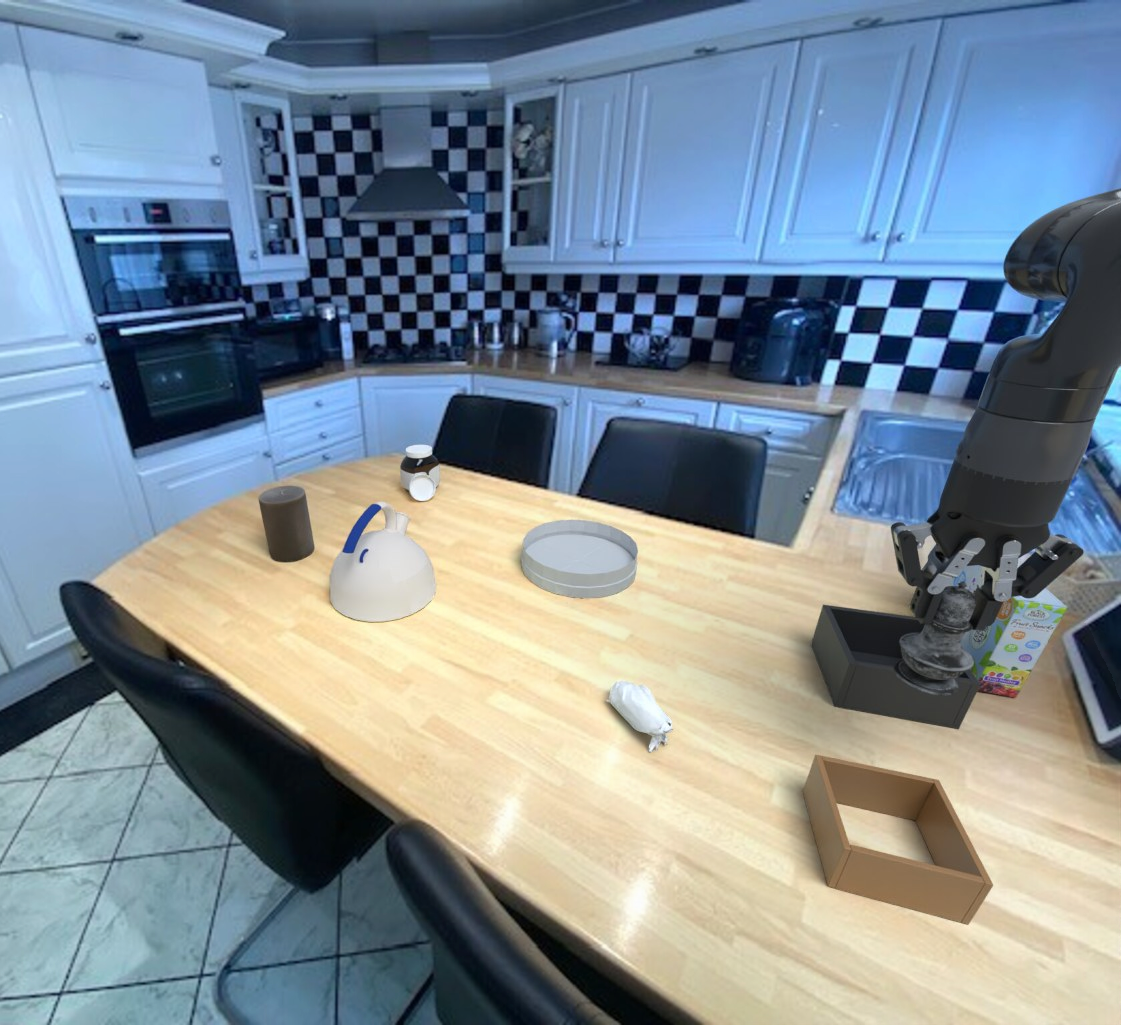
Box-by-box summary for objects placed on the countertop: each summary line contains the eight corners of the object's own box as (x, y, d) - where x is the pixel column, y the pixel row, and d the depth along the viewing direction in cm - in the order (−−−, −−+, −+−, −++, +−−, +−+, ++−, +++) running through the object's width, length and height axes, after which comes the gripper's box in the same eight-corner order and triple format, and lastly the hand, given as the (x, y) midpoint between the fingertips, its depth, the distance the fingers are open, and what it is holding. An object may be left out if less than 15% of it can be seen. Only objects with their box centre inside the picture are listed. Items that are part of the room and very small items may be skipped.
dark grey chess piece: (912, 652, 62) (948, 560, 57) (975, 686, 57) (1020, 588, 52) (876, 668, 61) (910, 574, 55) (938, 705, 56) (981, 605, 50)
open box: (916, 660, 83) (933, 619, 79) (959, 729, 71) (980, 684, 68) (810, 644, 87) (822, 604, 84) (834, 706, 76) (849, 663, 72)
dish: (498, 567, 112) (498, 545, 110) (565, 530, 125) (566, 509, 123) (592, 613, 97) (594, 589, 94) (658, 565, 110) (661, 543, 107)
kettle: (454, 573, 111) (450, 489, 103) (405, 634, 94) (397, 540, 86) (366, 555, 119) (357, 476, 111) (307, 609, 102) (291, 520, 94)
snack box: (1022, 700, 75) (1072, 607, 68) (970, 691, 77) (1014, 600, 70) (950, 610, 93) (984, 529, 86) (909, 604, 95) (940, 525, 88)
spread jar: (426, 481, 155) (424, 440, 149) (454, 492, 147) (452, 450, 142) (391, 493, 148) (388, 452, 143) (418, 506, 140) (415, 462, 135)
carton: (920, 817, 61) (939, 779, 58) (969, 924, 51) (993, 885, 49) (802, 790, 64) (815, 753, 62) (827, 886, 55) (844, 847, 52)
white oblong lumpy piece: (678, 743, 73) (628, 682, 80) (688, 718, 68) (634, 656, 75) (647, 761, 72) (599, 697, 79) (655, 737, 67) (603, 672, 74)
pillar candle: (292, 566, 116) (280, 501, 110) (260, 555, 121) (246, 492, 114) (324, 546, 123) (314, 483, 117) (292, 536, 128) (281, 476, 122)
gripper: (931, 472, 47) (875, 635, 55) (1156, 483, 43) (1062, 658, 50) (898, 443, 54) (852, 592, 61) (1091, 451, 49) (1016, 610, 57)
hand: (947, 621), depth 56 cm, fingers closed on dark grey chess piece, 3 cm apart
